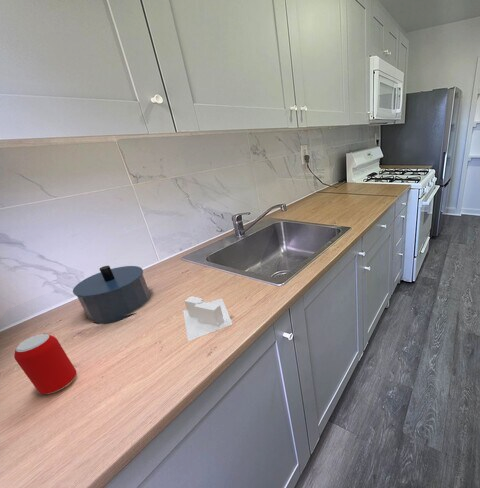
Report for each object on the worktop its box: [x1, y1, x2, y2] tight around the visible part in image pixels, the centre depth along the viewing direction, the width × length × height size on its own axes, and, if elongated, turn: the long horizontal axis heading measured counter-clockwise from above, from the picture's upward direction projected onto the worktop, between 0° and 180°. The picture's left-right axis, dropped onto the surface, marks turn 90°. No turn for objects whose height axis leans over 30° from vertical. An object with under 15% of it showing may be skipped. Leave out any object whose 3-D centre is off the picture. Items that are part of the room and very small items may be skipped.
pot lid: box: [72, 265, 144, 298], centre depth 78 cm, size 17×17×5 cm
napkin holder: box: [183, 296, 233, 342], centre depth 74 cm, size 15×11×6 cm
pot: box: [76, 273, 151, 325], centre depth 81 cm, size 16×16×10 cm
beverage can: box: [13, 333, 77, 395], centre depth 55 cm, size 6×6×12 cm
